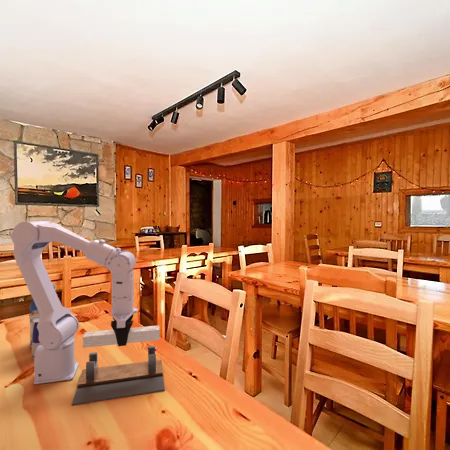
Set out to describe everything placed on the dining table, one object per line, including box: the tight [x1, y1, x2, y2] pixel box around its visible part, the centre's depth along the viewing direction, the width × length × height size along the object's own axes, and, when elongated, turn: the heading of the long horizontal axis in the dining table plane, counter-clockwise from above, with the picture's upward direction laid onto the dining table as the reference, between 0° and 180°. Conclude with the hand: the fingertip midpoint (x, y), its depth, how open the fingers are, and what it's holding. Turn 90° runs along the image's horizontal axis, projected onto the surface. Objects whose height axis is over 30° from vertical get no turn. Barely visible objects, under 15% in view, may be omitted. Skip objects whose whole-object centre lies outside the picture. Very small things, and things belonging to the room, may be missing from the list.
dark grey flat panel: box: [71, 375, 166, 406], centre depth 74 cm, size 22×6×1 cm, turn 106°
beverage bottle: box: [28, 283, 56, 348], centre depth 97 cm, size 8×8×20 cm
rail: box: [82, 325, 161, 349], centre depth 80 cm, size 20×3×3 cm, turn 106°
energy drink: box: [31, 317, 41, 360], centre depth 90 cm, size 5×5×12 cm
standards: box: [76, 345, 164, 389], centre depth 81 cm, size 22×7×6 cm, turn 106°
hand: (122, 342), depth 80 cm, fingers closed on rail, 3 cm apart
